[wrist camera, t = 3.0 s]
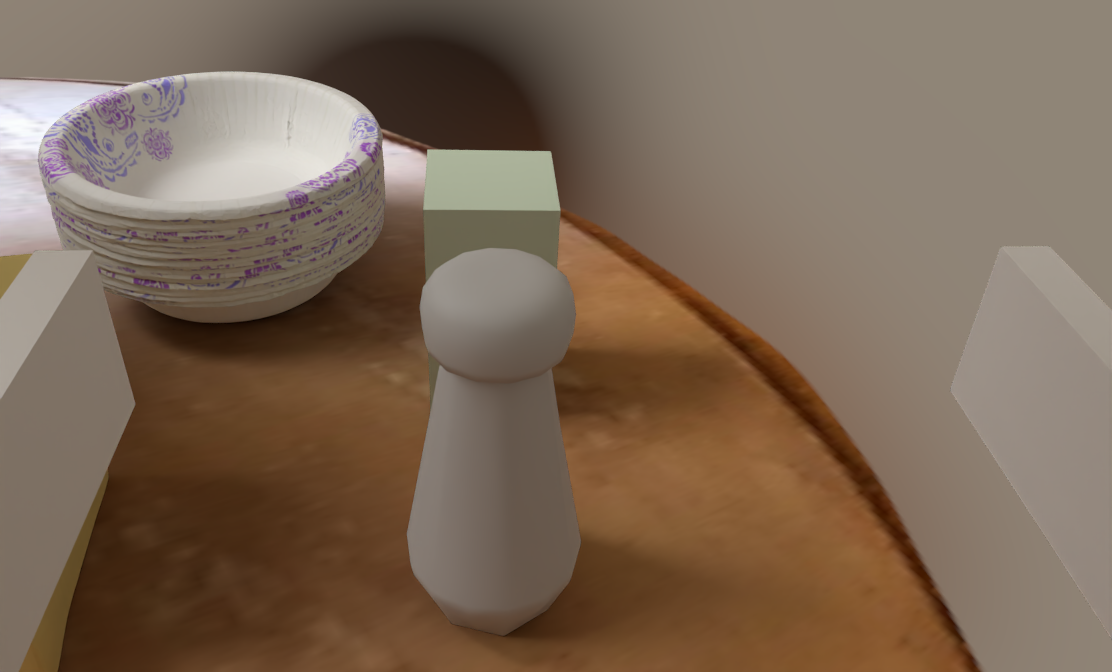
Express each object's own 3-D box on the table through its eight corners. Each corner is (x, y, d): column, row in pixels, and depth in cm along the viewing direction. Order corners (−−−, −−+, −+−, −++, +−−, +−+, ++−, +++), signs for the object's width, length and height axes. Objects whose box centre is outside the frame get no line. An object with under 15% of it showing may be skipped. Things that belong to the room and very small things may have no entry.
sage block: (430, 418, 41) (423, 209, 35) (433, 347, 45) (427, 149, 39) (548, 416, 41) (560, 210, 35) (540, 346, 45) (550, 151, 39)
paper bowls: (398, 350, 45) (389, 196, 40) (45, 375, 42) (-9, 215, 37) (384, 195, 57) (375, 64, 52) (108, 207, 54) (73, 70, 49)
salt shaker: (404, 534, 35) (384, 226, 28) (556, 515, 37) (576, 214, 29) (419, 670, 31) (400, 345, 23) (592, 643, 32) (629, 326, 24)
